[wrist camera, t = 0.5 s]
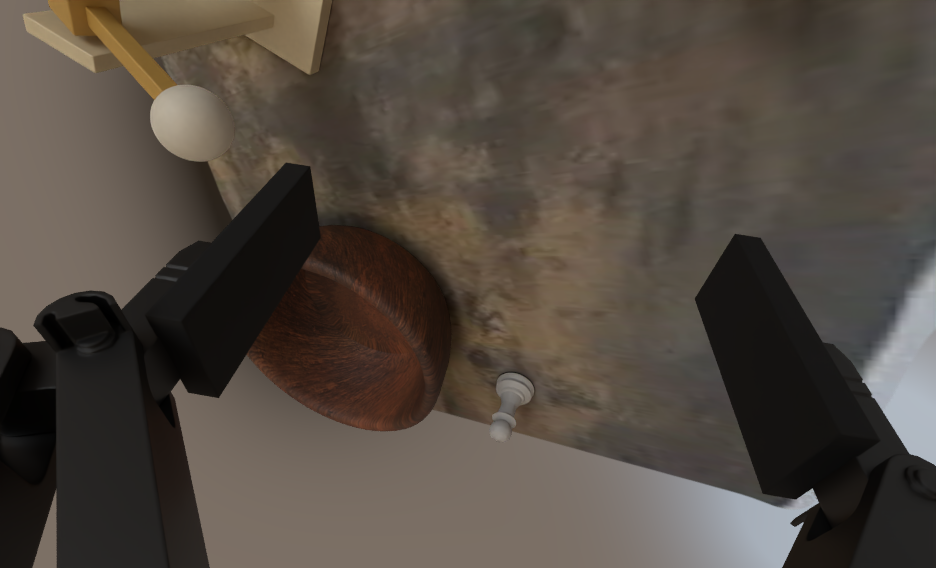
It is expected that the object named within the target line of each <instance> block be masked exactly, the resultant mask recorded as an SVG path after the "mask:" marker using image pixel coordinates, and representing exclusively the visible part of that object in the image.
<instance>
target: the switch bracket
mask: <svg viewBox="0 0 936 568" xmlns="http://www.w3.org/2000/svg"><path fill="white" fill-rule="evenodd" d="M119 2H120V11H121V19H122V26H123V27H124V28H125V29H126V30H127V31H128V32H129V33H130V34H131V35H132V36H133V37H134V39H135V40H136V41H137V42H138V43H139V44H140V45H141V46H142V47H143V48H144V49H145V50H146V52H147V53H148V54H149V55H150V56H151V57H152V58H156V57H161V56H164V55H168V54H172V53H176V52H180V51H184V50H188V49H192V48H195V47H199V46H203V45H207V44H211V43H215V42H219V41H223V40H226V39H230V38H234V37H238V36H242V35H245V36H247V37H249V38H250V39H252V40H254V41H255V42H257V43H258V44H260V45H262V46H263V47H265V48H267V49H268V50H270V51H271V52H273V53H275V54H276V55H278V56H279V57H281V58H283V59H284V60H286V61H288V62H289V63H291V64H292V65H294V66H296V67H297V68H299V69H300V70H302V71H304V72H305V73H307V74H309V75H311V74H314V73H316V72H318V71H319V68H320V63H321V57H322V52H323V47H324V42H325V37H326V31H327V26H328V21H329V16H330V10H331V5H332V0H122V1H119ZM23 19H24V22H25V26H26V30H27V32H28V33H30V34H32V35H33V36H35V37H37V38H38V39H40V40H42V41H43V42H45V43H47V44H48V45H50V46H51V47H53V48H55V49H57V50H58V51H60V52H61V53H63V54H65V55H66V56H68V57H70V58H71V59H73V60H74V61H76V62H78V63H79V64H81V65H83V66H84V67H86V68H88V69H89V70H91V71H93V72H94V73H98V72H102V71H106V70H110V69H114V68H118V67H121V66H123V64H122V63H121V62H120V61H119V60H118V59H117V58H116V57H115V56H114V54H113V53H112V52H111V51H110V50H109V49H108V48H107V47H106V45H105V44H104V43H103V42H102V41H101V40H100V39H99V38H98V36H76V35H73V34H72V32H71V31H70V30H69V29H68V28H67V27H66V26H65V24H64V23H63V22H62V21H61V20H60V19H59V18H58V16H57V15H56V14H55V13H54V12H53V11H52V10H49V11H41V12H35V13H27V14H23Z"/></svg>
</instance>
